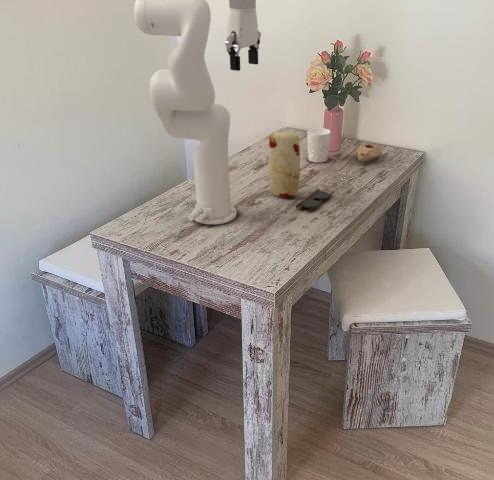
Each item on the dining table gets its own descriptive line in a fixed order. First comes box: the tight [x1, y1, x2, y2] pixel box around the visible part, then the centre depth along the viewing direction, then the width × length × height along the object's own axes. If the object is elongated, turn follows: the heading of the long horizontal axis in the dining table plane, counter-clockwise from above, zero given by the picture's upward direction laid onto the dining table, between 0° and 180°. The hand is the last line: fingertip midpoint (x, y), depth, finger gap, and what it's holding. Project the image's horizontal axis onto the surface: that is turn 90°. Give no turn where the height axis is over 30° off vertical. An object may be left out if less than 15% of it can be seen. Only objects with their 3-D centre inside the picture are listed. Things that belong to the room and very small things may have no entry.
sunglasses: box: [295, 188, 331, 213], centre depth 171 cm, size 14×5×1 cm, turn 149°
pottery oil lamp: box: [355, 142, 383, 163], centre depth 199 cm, size 9×12×7 cm
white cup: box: [306, 127, 331, 164], centre depth 200 cm, size 8×8×10 cm
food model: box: [268, 130, 301, 199], centre depth 170 cm, size 10×7×20 cm
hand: (244, 67), depth 172 cm, fingers open, 9 cm apart
